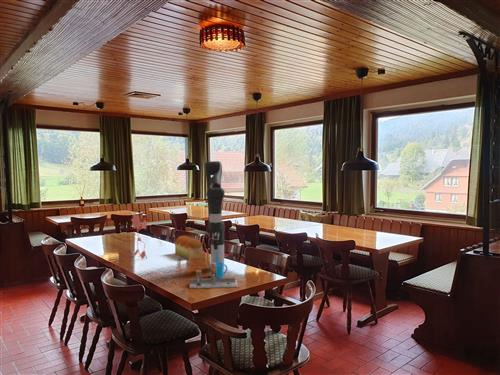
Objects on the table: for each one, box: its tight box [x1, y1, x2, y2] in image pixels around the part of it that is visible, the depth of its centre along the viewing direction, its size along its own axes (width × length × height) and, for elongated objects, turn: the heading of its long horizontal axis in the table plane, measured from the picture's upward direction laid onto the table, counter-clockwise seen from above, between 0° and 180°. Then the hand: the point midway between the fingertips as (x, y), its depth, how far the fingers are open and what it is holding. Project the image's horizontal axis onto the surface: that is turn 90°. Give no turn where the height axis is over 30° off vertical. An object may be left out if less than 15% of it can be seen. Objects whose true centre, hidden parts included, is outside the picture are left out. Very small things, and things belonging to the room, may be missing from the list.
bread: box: [174, 234, 204, 260], centre depth 304 cm, size 25×12×15 cm, turn 35°
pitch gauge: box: [189, 269, 239, 289], centre depth 227 cm, size 10×28×8 cm, turn 96°
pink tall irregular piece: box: [126, 213, 148, 262], centre depth 292 cm, size 15×26×35 cm, turn 45°
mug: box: [214, 262, 228, 278], centre depth 247 cm, size 12×8×8 cm
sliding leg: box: [210, 262, 216, 283], centre depth 227 cm, size 8×3×10 cm, turn 6°
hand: (215, 247), depth 228 cm, fingers open, 8 cm apart
